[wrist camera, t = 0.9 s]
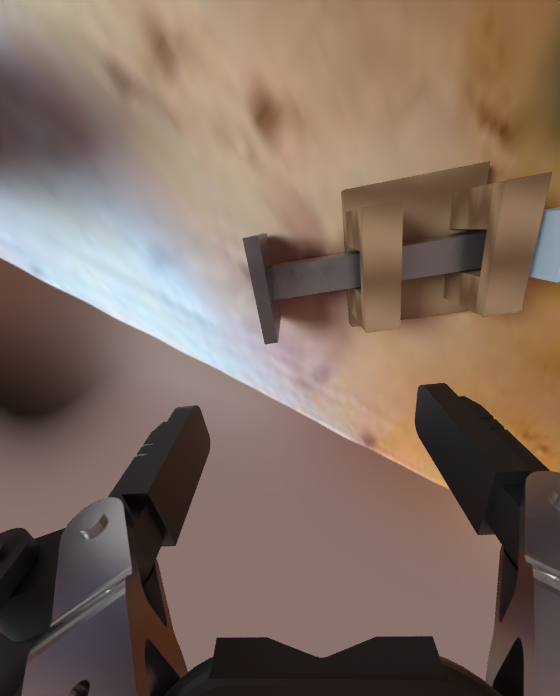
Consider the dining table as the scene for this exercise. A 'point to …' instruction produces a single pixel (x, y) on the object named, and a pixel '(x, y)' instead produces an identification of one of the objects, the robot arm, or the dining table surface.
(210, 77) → the dining table surface
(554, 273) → the block
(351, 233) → the bearing stand
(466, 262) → the drawbar
